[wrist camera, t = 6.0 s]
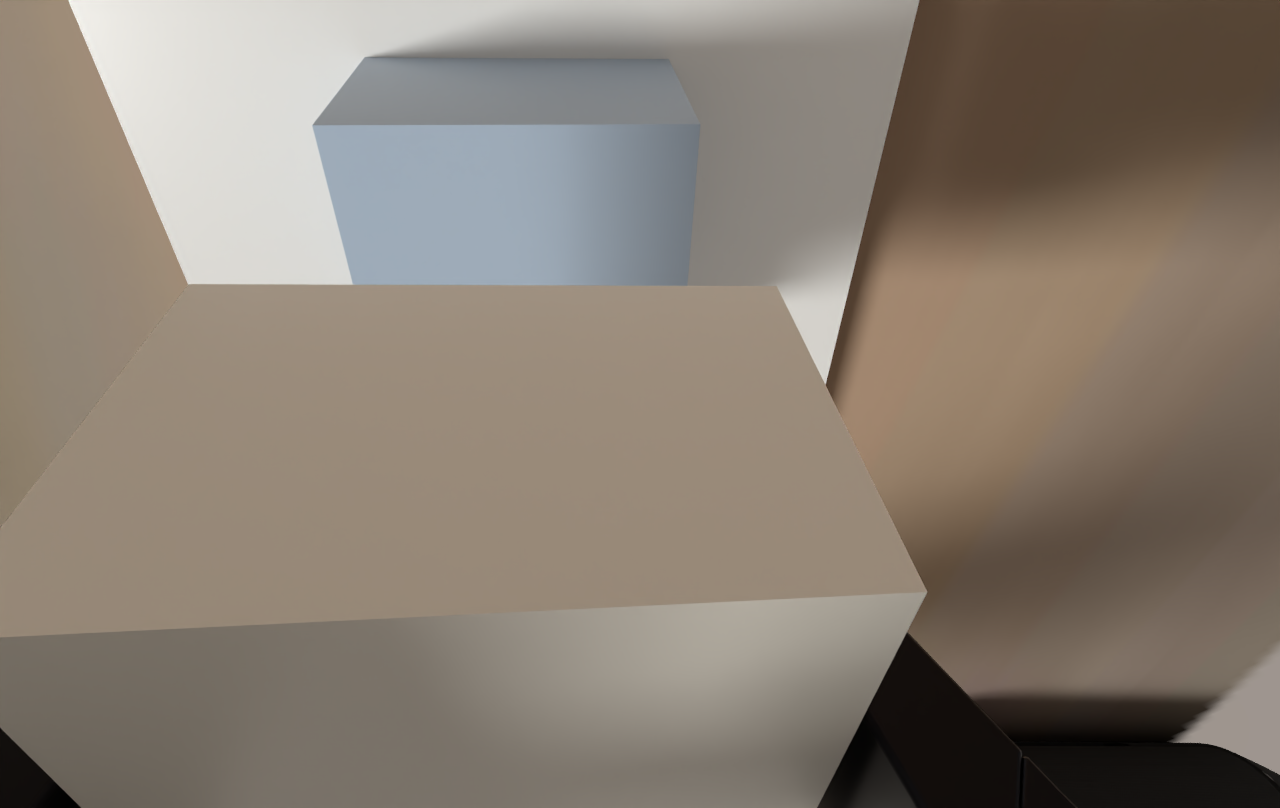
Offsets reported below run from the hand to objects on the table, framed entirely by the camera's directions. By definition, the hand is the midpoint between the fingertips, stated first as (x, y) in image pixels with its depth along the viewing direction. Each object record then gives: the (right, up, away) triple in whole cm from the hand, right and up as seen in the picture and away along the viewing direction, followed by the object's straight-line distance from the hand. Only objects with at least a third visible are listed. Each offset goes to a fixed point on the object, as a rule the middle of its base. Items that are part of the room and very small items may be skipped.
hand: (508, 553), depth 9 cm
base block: (-1, +6, +8) cm, 10 cm away
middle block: (0, +1, +1) cm, 1 cm away
